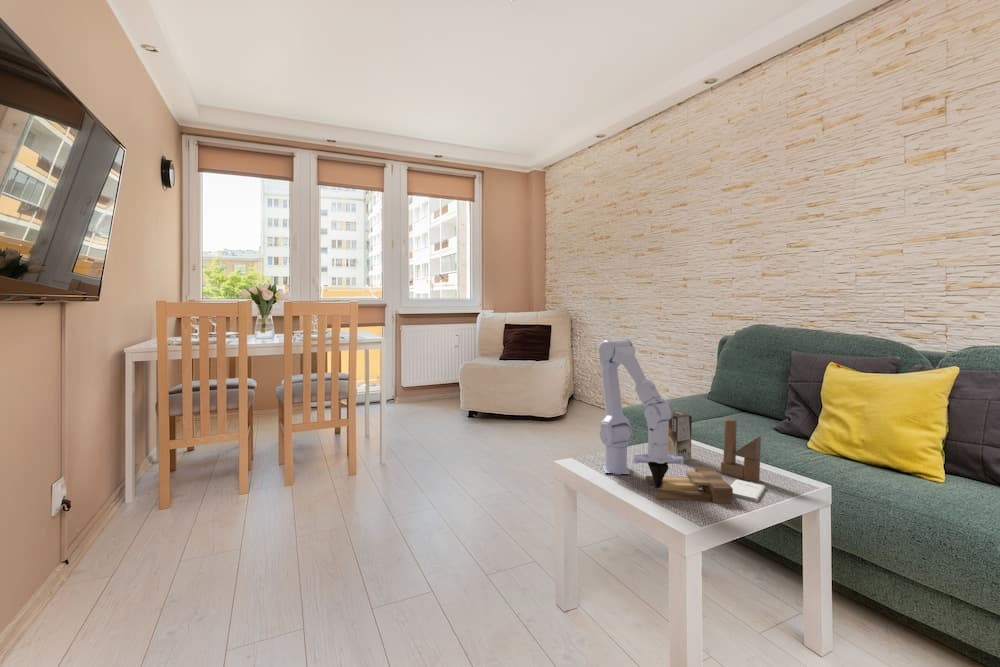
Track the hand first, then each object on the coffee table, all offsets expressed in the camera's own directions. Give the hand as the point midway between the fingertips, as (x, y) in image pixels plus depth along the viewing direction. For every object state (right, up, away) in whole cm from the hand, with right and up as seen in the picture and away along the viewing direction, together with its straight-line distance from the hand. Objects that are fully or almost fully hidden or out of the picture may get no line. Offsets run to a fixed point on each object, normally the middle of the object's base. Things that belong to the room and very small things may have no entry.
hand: (657, 486), depth 138 cm
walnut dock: (+8, -1, -1) cm, 8 cm away
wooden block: (+30, 0, +10) cm, 32 cm away
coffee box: (+17, +1, +29) cm, 34 cm away
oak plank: (+6, -1, 0) cm, 6 cm away
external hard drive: (+26, -2, -2) cm, 26 cm away
